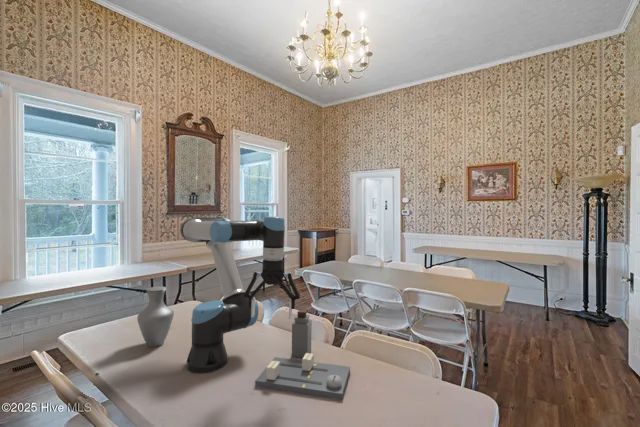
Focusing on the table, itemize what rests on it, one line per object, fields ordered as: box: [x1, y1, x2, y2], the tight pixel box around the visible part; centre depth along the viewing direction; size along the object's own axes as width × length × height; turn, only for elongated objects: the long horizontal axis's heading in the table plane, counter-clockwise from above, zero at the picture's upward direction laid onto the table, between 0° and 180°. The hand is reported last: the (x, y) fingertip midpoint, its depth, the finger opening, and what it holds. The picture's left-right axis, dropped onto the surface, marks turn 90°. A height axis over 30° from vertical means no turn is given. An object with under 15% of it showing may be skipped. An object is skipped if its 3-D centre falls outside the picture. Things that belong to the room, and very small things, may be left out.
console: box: [254, 357, 351, 401], centre depth 110 cm, size 30×18×4 cm, turn 76°
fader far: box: [301, 352, 315, 371], centre depth 114 cm, size 3×5×4 cm, turn 166°
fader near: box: [266, 360, 280, 380], centre depth 108 cm, size 3×5×4 cm, turn 167°
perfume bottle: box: [291, 309, 313, 359], centre depth 130 cm, size 7×7×18 cm
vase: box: [136, 285, 175, 348], centre depth 138 cm, size 14×14×25 cm
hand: (271, 317), depth 112 cm, fingers open, 13 cm apart
